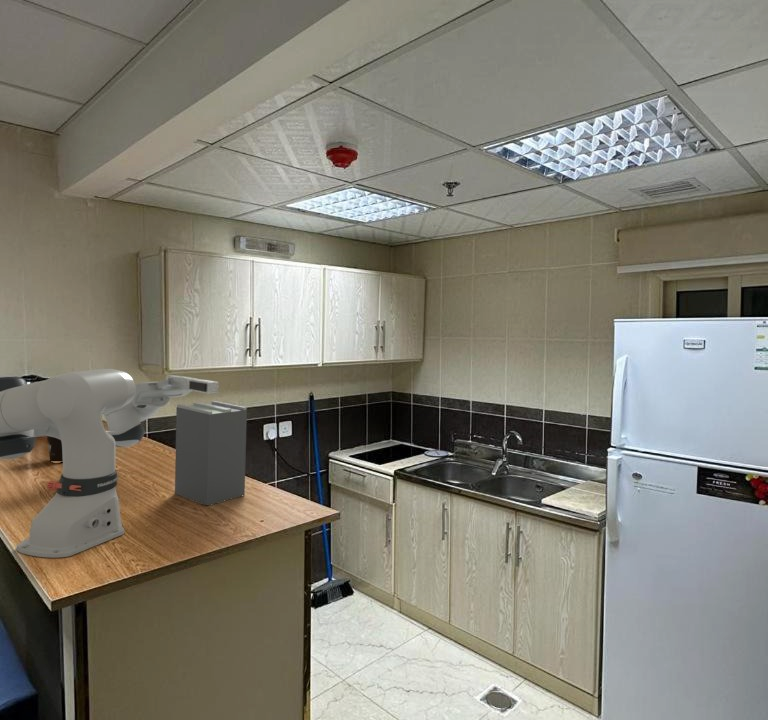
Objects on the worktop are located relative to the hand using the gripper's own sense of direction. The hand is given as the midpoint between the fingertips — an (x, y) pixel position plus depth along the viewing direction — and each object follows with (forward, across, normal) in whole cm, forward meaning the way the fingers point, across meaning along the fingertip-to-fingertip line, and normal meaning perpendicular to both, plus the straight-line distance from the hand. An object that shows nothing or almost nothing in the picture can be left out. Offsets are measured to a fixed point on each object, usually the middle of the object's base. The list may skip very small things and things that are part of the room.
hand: (175, 379), depth 171 cm
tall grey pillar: (+5, +3, -40) cm, 40 cm away
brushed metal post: (+7, 0, -6) cm, 9 cm away
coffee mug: (-55, +16, -6) cm, 58 cm away
